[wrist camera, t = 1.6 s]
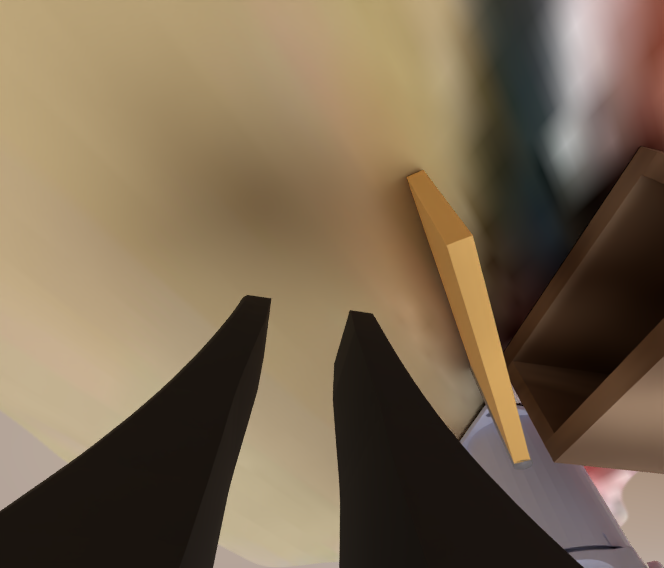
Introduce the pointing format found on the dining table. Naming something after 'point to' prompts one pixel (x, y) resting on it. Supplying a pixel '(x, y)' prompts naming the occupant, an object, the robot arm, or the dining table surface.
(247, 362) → the robot arm
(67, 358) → the dining table surface
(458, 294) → the cabinet door
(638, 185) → the cabinet
